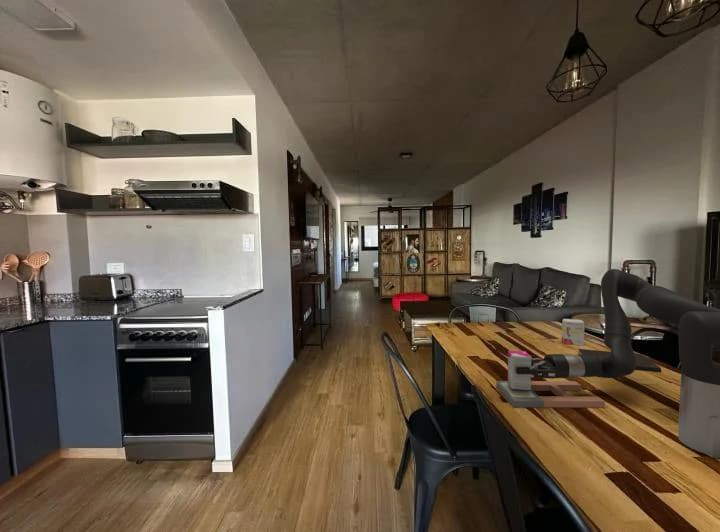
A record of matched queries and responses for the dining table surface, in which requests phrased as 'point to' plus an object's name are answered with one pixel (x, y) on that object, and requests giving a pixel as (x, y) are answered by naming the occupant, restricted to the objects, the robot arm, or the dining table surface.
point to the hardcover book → (641, 360)
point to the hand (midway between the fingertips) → (511, 366)
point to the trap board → (549, 401)
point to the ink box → (573, 332)
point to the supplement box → (515, 380)
